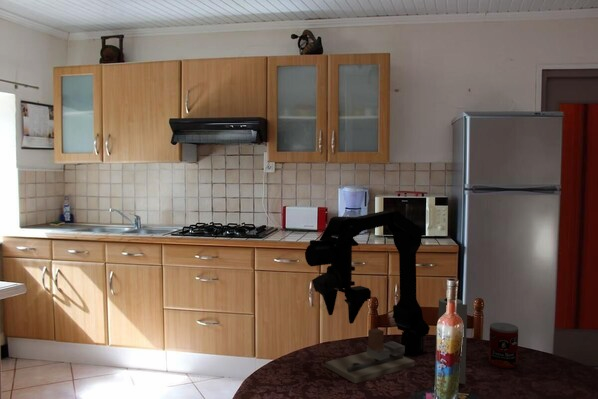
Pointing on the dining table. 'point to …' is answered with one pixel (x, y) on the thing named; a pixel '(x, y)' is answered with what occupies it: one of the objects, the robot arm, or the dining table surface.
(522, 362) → the dining table surface
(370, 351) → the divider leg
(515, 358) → the canned food
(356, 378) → the board
